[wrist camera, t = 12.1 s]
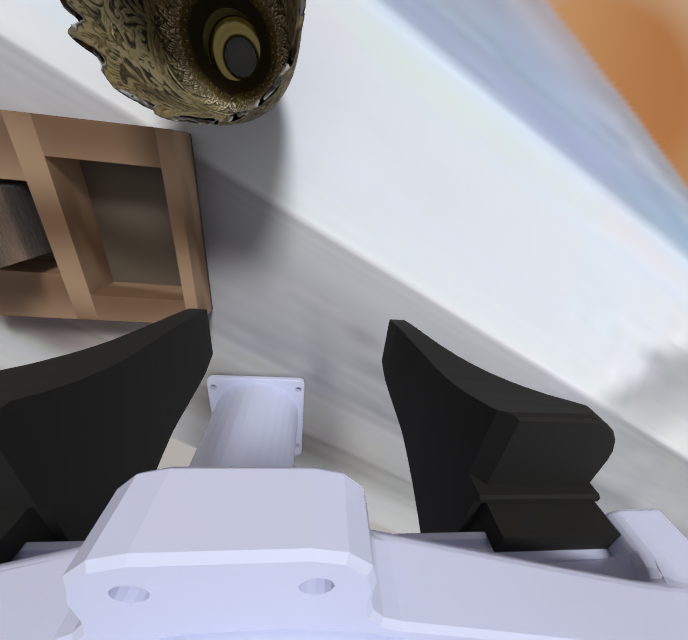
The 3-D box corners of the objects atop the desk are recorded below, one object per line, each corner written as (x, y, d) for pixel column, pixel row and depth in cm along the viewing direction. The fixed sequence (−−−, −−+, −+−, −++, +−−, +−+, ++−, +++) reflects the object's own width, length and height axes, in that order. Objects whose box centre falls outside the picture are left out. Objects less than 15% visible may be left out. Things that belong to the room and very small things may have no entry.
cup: (172, 128, 16) (59, 99, 9) (153, -67, 13) (-49, -346, 6) (306, 151, 17) (295, 142, 10) (320, -25, 14) (318, -220, 7)
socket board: (212, 308, 22) (200, 325, 19) (2, 296, 20) (-38, 313, 18) (190, 134, 16) (170, 129, 14) (-94, 101, 15) (-165, 90, 13)
